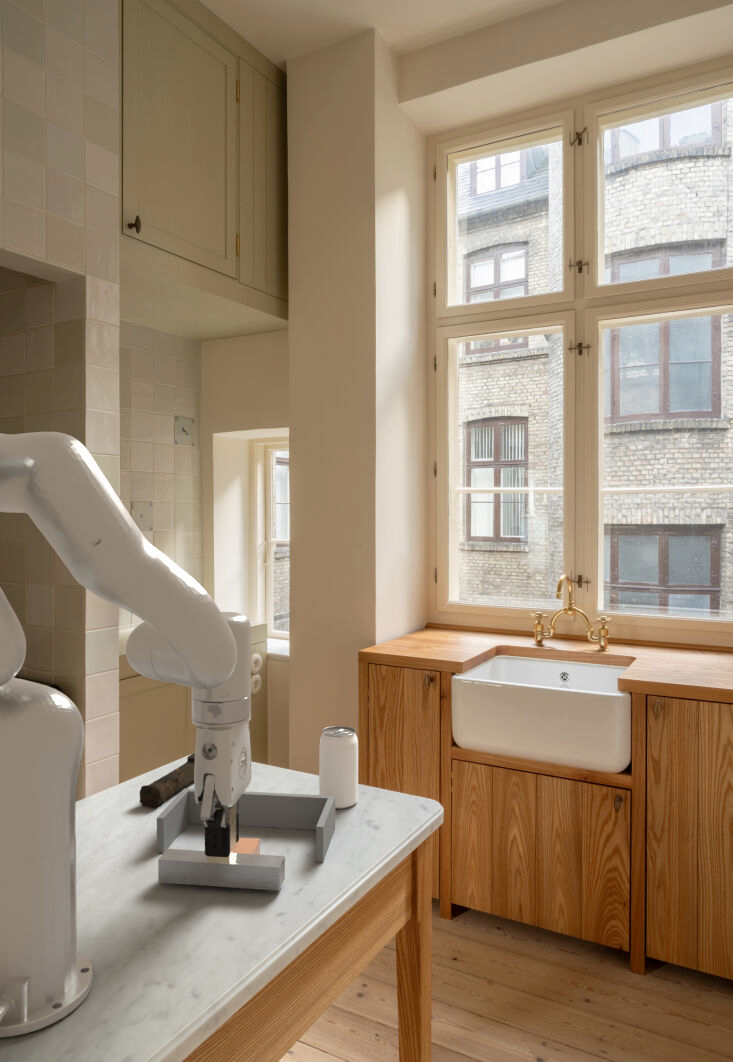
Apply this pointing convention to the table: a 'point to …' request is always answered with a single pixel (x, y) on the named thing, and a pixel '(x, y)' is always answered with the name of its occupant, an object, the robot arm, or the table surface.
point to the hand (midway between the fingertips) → (222, 847)
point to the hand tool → (168, 784)
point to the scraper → (222, 866)
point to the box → (256, 815)
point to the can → (339, 765)
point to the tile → (248, 846)
